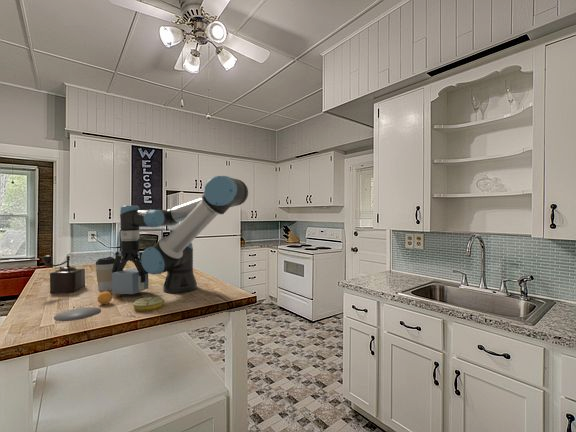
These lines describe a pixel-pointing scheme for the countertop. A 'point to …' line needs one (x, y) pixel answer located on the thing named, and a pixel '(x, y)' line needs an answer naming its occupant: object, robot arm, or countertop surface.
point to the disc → (77, 313)
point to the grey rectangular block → (127, 281)
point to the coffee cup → (104, 273)
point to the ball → (104, 297)
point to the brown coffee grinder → (65, 277)
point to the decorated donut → (148, 304)
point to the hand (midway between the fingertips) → (130, 289)
